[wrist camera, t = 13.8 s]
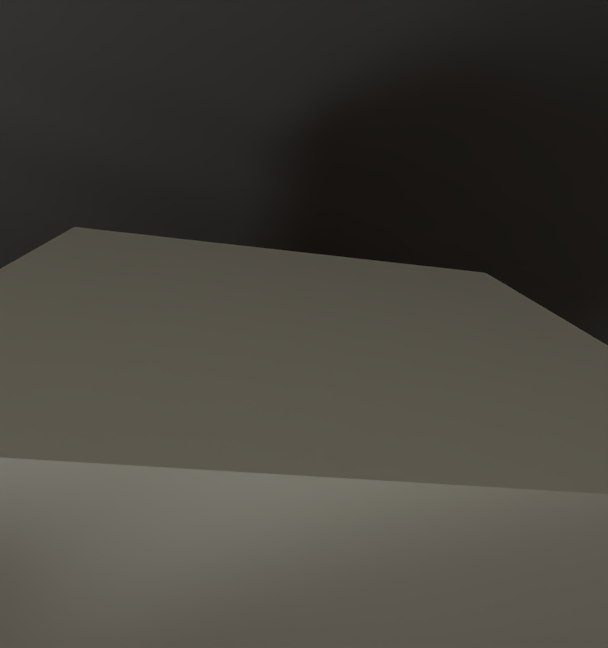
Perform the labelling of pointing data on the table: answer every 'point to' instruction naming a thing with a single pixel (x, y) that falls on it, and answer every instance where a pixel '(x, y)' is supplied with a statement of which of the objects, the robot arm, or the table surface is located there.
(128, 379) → the pale grey carton
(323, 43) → the table surface
